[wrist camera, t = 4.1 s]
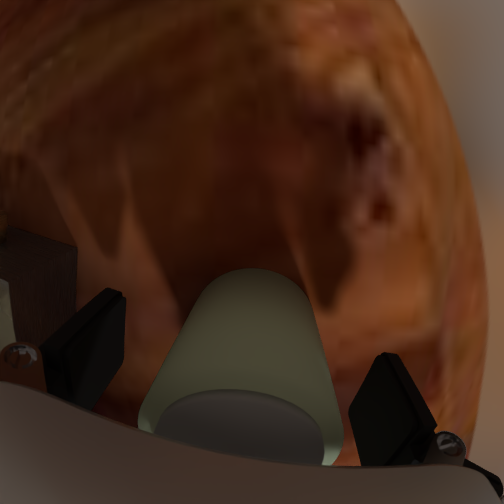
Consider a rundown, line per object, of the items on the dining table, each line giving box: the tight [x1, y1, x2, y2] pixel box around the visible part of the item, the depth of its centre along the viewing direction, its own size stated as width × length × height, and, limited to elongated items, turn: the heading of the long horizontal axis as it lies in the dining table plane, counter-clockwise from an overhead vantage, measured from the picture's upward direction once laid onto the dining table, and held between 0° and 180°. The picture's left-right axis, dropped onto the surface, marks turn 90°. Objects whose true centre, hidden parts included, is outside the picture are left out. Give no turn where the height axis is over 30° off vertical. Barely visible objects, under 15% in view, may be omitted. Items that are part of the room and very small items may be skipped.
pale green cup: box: [138, 268, 344, 465], centre depth 10 cm, size 6×7×7 cm
